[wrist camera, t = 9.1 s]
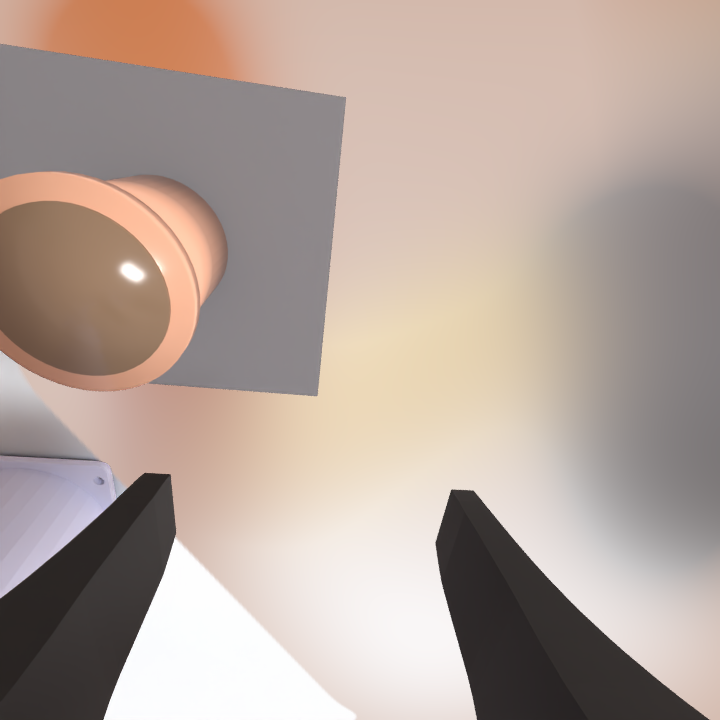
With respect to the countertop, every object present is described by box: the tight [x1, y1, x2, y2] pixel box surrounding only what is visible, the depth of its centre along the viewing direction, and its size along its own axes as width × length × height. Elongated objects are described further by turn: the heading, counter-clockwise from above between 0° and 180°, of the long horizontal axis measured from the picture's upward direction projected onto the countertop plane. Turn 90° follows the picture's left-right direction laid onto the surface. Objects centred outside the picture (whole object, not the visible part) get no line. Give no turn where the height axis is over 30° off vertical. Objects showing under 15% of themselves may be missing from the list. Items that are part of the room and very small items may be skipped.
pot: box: [0, 171, 228, 391], centre depth 13 cm, size 6×6×6 cm
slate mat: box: [0, 44, 346, 396], centre depth 17 cm, size 12×12×1 cm
